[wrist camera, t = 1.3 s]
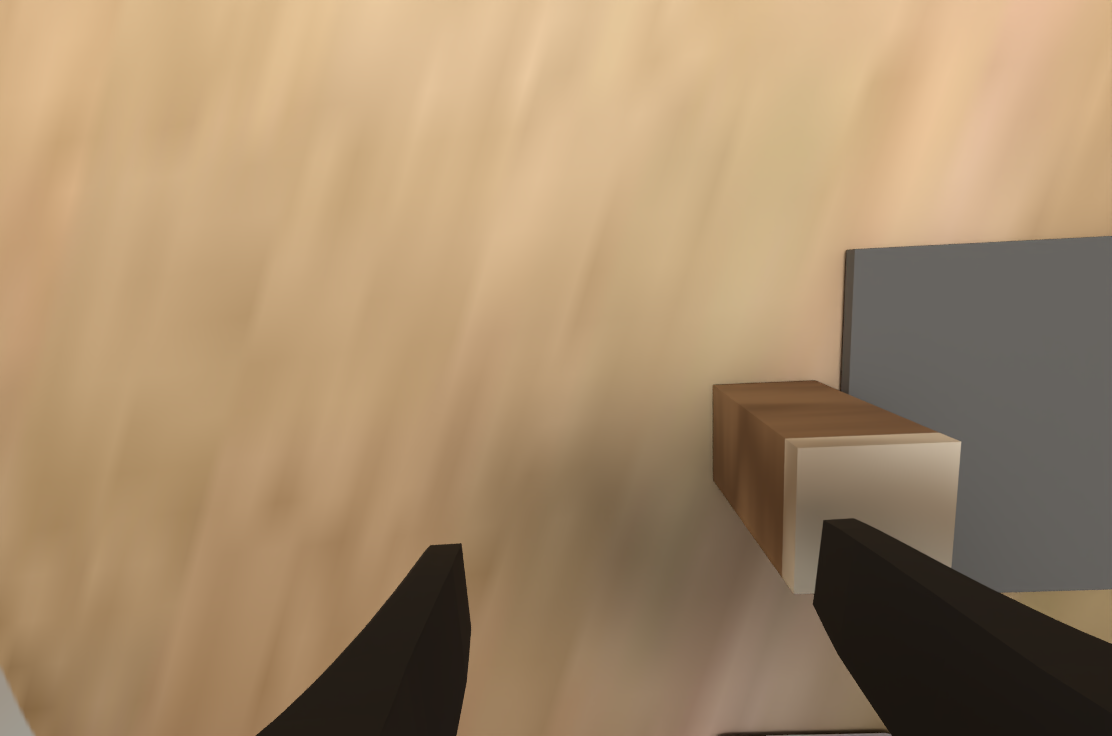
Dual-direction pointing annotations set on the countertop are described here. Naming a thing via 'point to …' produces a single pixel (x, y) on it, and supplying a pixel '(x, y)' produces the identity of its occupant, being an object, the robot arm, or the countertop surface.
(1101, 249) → the rubber mat
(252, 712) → the countertop surface
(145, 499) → the countertop surface
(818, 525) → the walnut block
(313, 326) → the countertop surface
